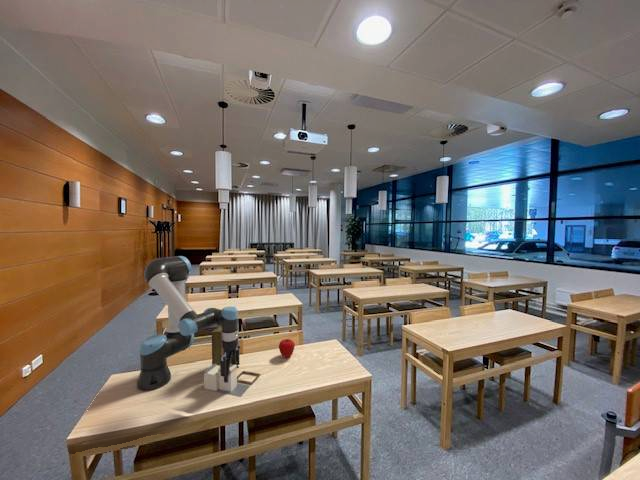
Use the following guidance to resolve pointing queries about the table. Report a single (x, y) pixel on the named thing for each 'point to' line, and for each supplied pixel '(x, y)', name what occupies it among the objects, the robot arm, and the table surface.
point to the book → (217, 346)
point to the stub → (232, 378)
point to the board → (234, 390)
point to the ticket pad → (211, 378)
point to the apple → (286, 347)
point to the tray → (248, 373)
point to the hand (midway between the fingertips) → (230, 384)
